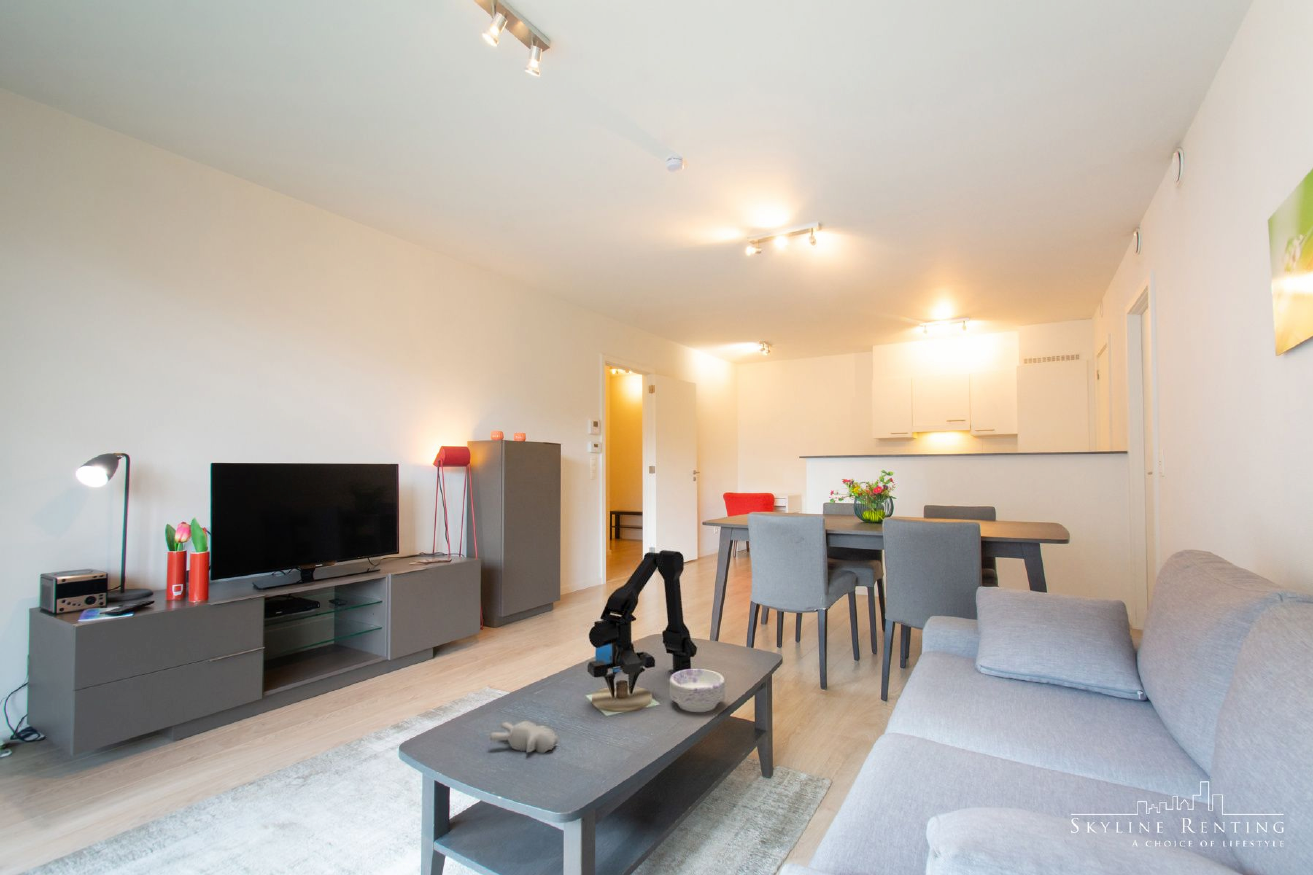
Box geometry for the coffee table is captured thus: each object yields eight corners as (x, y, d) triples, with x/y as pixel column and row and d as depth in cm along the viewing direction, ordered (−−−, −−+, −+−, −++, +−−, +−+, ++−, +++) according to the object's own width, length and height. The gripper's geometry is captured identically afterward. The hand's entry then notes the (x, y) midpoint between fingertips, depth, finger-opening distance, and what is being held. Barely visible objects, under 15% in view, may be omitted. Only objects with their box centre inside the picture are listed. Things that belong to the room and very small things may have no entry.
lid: (583, 695, 172) (583, 677, 172) (636, 684, 180) (636, 668, 180) (605, 716, 157) (605, 697, 157) (662, 704, 165) (662, 686, 165)
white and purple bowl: (705, 723, 154) (705, 691, 154) (658, 709, 163) (658, 679, 163) (735, 704, 166) (734, 674, 166) (690, 692, 175) (689, 664, 176)
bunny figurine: (547, 741, 136) (488, 728, 139) (545, 764, 136) (485, 750, 139) (563, 723, 145) (507, 711, 149) (561, 745, 145) (504, 732, 148)
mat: (585, 697, 172) (585, 695, 172) (635, 687, 179) (635, 685, 179) (606, 717, 158) (606, 715, 158) (660, 706, 165) (660, 704, 165)
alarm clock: (608, 664, 201) (608, 619, 202) (626, 665, 199) (625, 620, 200) (594, 677, 188) (594, 629, 189) (613, 679, 187) (613, 630, 187)
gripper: (601, 651, 158) (601, 711, 157) (663, 641, 166) (664, 698, 166) (586, 641, 168) (587, 697, 167) (646, 632, 176) (646, 685, 175)
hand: (622, 695), depth 168 cm, fingers open, 5 cm apart
